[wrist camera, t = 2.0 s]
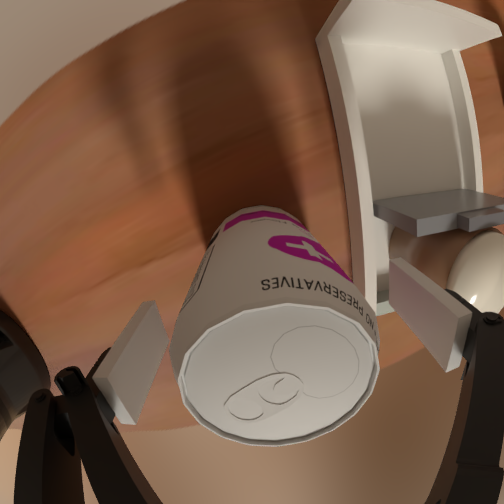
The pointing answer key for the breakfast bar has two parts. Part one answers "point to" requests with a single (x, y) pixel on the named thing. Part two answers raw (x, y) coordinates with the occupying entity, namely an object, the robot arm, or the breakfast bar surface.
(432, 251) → the jar
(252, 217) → the supplement can
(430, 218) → the pusher
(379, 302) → the lane
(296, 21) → the breakfast bar surface
